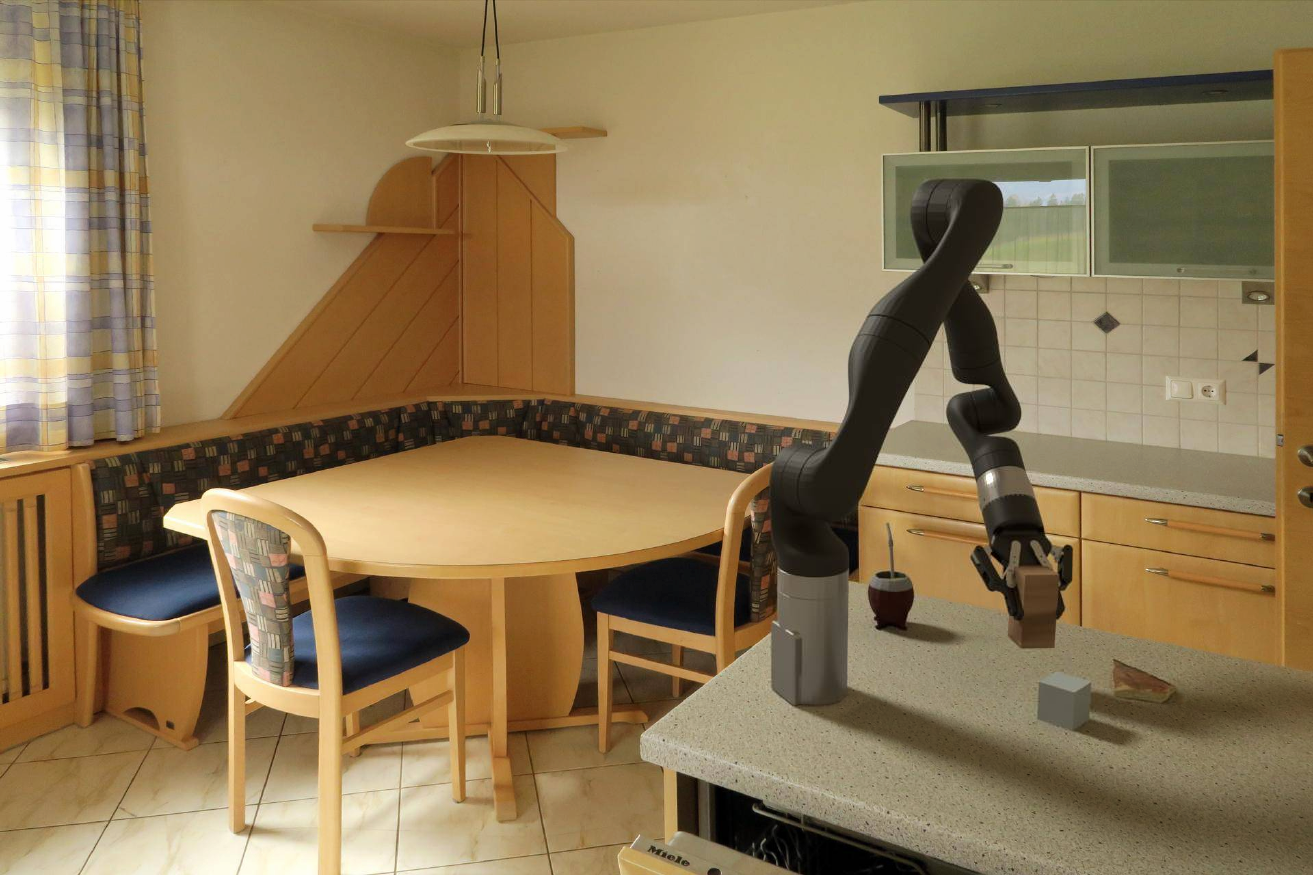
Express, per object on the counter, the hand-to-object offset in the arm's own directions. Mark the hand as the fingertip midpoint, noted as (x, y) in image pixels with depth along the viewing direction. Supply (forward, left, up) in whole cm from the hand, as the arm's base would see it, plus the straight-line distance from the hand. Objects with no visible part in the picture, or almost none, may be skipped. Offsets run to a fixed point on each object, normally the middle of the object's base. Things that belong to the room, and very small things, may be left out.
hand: (1038, 616), depth 134 cm
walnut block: (+1, +2, -4) cm, 5 cm away
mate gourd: (-3, +29, -10) cm, 31 cm away
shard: (+12, -4, -11) cm, 17 cm away
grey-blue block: (-3, -8, -10) cm, 13 cm away
